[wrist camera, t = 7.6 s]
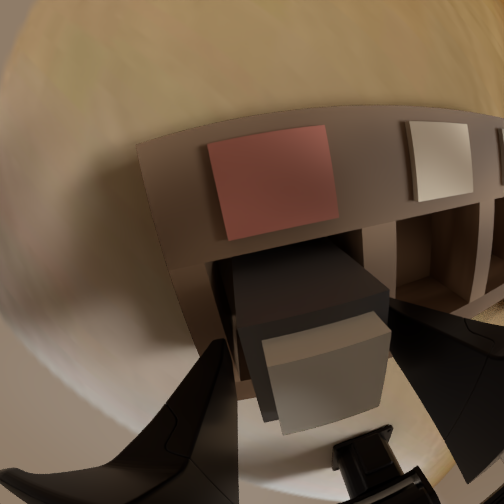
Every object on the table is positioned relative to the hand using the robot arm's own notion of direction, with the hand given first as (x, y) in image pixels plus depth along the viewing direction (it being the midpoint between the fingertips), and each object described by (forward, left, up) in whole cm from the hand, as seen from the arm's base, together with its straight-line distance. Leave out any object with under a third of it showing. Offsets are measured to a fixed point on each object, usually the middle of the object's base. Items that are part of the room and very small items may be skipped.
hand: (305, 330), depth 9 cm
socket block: (+2, -7, -6) cm, 9 cm away
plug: (0, 0, -5) cm, 5 cm away
